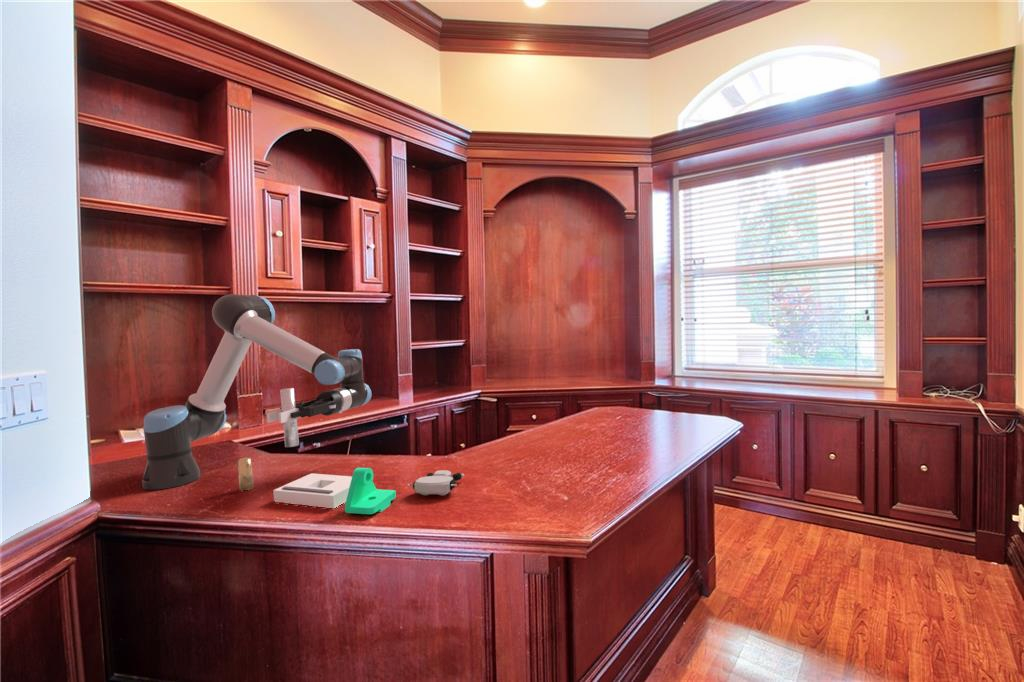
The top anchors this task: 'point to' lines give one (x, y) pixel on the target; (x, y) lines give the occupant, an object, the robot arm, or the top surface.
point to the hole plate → (315, 490)
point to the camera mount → (366, 494)
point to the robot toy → (436, 483)
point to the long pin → (291, 426)
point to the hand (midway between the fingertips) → (274, 418)
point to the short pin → (245, 473)
